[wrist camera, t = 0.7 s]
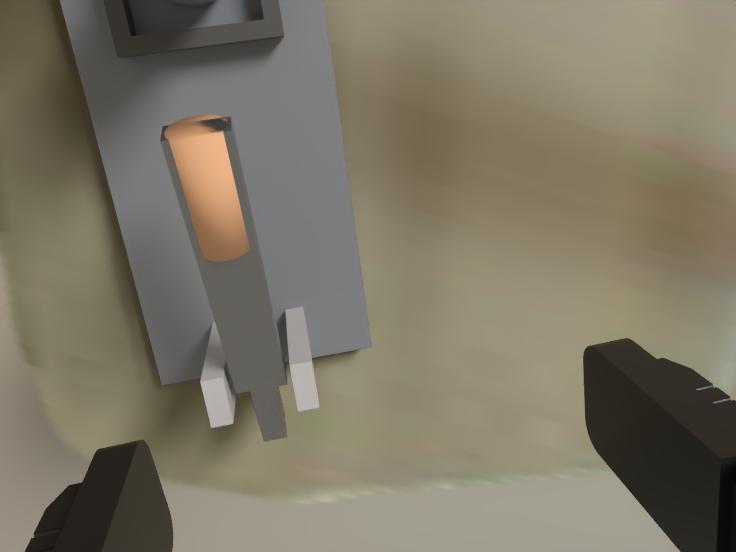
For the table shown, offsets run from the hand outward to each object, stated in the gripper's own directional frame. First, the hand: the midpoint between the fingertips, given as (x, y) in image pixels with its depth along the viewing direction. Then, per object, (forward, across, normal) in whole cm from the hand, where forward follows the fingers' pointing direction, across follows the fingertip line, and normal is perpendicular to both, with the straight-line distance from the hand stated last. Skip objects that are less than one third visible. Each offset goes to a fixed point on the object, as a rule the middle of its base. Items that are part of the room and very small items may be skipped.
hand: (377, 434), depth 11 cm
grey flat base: (+25, +4, -5) cm, 26 cm away
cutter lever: (+17, +4, +3) cm, 18 cm away
